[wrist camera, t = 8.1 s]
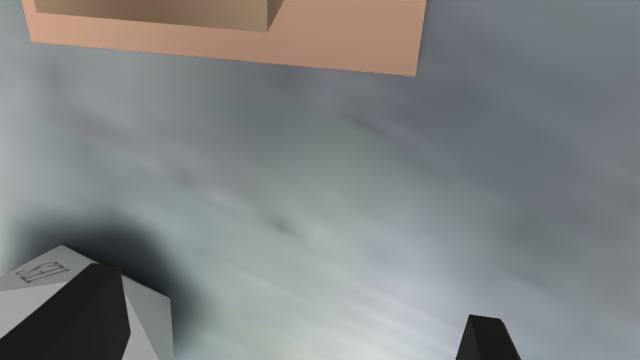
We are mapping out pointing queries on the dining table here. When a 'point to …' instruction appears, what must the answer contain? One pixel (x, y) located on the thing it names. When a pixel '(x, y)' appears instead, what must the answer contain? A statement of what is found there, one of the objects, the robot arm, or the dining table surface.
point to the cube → (173, 11)
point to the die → (63, 265)
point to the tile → (265, 35)
